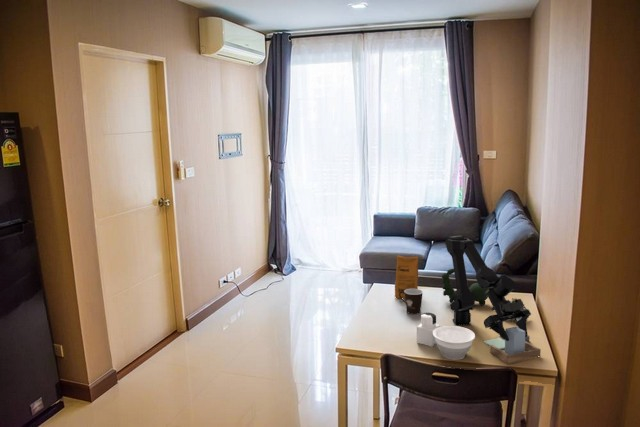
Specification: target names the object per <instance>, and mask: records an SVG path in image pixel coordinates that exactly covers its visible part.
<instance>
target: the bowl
mask: <svg viewBox="0 0 640 427" xmlns="http://www.w3.org/2000/svg"><path fill="white" fill-rule="evenodd" d="M433 336H434V337H435V340H436V344H435V345H436V346H437V348H438V349H439V351H440V352H441V355H442V356H443V358H446V359H448V360H454V361H455V360H457V361H458V360H461V359H464V358H465V356H466V355H467V354H468V352H469V351H470V350H471V348H472V345H473V341H474V340H475V338H476V334H475V332H474V331H473V330H471V329H469V328H468V327H467V328H466V327H464V326H463V327H462V326H460V325H458V326H457V325H443V326H442V325H441V326H440V327H438V328H436V329H435V330H434V331H433Z"/></svg>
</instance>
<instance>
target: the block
mask: <svg viewBox="0 0 640 427" xmlns="http://www.w3.org/2000/svg"><path fill="white" fill-rule="evenodd" d="M505 331H506V333H507V335H508V338H509V341H506V340H505V349H504V352H505V353H507V354H508V355H511V354H516V353H520V352H525V351H526V350H525V331H524V330H522V329H520V328H518V326H512V327H508V328H505Z"/></svg>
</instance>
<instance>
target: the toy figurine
mask: <svg viewBox="0 0 640 427" xmlns="http://www.w3.org/2000/svg"><path fill="white" fill-rule="evenodd" d="M453 274H454V268H450V269H448V270H447V271H446V272H443V273H442V274H441V279H442V280H441V283H442V290H443V292H442V295H443V296H444V297H446V296H448V298H449V303H450V304H451V303H452V302H453V301H454V294H455V292H456V290H455V289H454V288H453V285H452V283H451V279H450V275H451V276H452V275H453ZM468 288H469V289H470V290H471V292H472V291H473V292H474V297H475V303H476V302H477V303H478V304H479V305H480V306H484V305H486V301H487V299H489V298H488V297H484V294H485V290H489V289H490V288H493V287H489V288H481V287H480V286H479V284H478V282H475V283H472V284H471V285H470V286H469V287H468Z"/></svg>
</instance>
